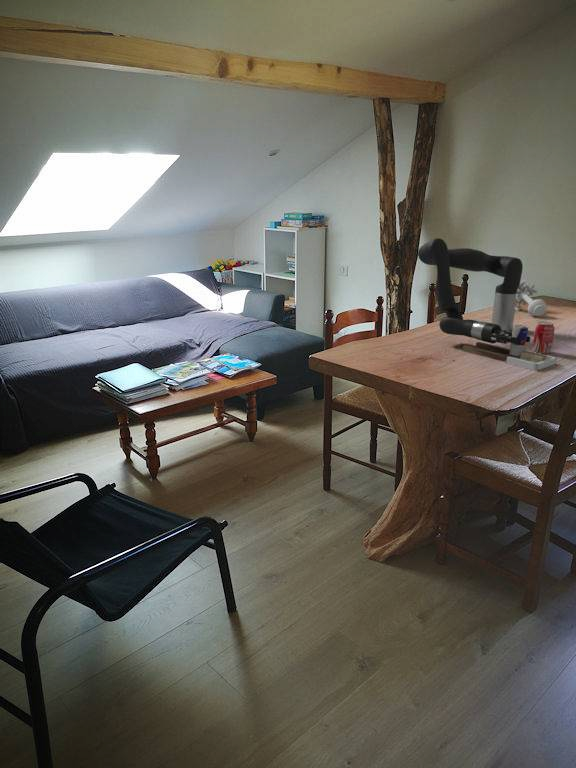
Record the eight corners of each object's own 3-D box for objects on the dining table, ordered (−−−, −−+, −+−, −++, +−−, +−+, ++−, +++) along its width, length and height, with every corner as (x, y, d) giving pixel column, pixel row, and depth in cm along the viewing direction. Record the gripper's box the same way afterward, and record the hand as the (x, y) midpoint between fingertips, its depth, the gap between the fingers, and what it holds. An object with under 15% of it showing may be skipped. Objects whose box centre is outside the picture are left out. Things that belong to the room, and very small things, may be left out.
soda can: (534, 349, 230) (538, 320, 226) (552, 351, 227) (557, 322, 223) (529, 352, 225) (534, 323, 221) (548, 355, 221) (553, 325, 217)
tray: (526, 356, 219) (527, 350, 219) (556, 364, 210) (557, 357, 210) (505, 363, 211) (506, 356, 210) (536, 370, 202) (537, 364, 201)
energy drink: (523, 359, 212) (528, 328, 208) (508, 358, 214) (513, 327, 210) (523, 356, 217) (528, 325, 213) (508, 354, 218) (513, 324, 214)
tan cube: (524, 360, 215) (526, 350, 213) (535, 363, 212) (536, 352, 210) (519, 362, 212) (521, 352, 211) (529, 365, 209) (531, 354, 208)
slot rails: (478, 346, 234) (479, 341, 233) (520, 356, 220) (521, 351, 219) (462, 350, 227) (462, 346, 227) (504, 361, 213) (505, 356, 213)
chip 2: (535, 363, 212) (536, 352, 211) (545, 365, 209) (547, 355, 208) (530, 365, 209) (531, 354, 208) (540, 367, 206) (542, 357, 205)
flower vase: (541, 329, 291) (520, 308, 312) (558, 297, 281) (535, 277, 302) (519, 326, 288) (499, 304, 309) (535, 293, 279) (513, 273, 299)
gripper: (476, 325, 218) (516, 334, 205) (497, 320, 226) (537, 328, 214) (474, 343, 221) (513, 353, 208) (495, 338, 229) (534, 347, 216)
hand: (525, 340), depth 211 cm, fingers closed on energy drink, 5 cm apart
